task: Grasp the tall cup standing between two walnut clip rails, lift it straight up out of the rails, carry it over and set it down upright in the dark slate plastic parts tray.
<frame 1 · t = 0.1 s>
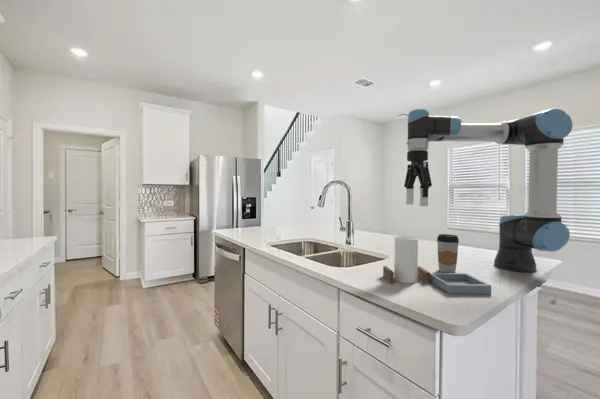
hand: (416, 205, 116), 28 cm above the worktop, fingers open, 13 cm apart
cup: (405, 280, 112), on the worktop
coffee cup: (447, 271, 125), on the worktop
tray: (457, 287, 104), on the worktop
clip rails: (405, 279, 112), on the worktop
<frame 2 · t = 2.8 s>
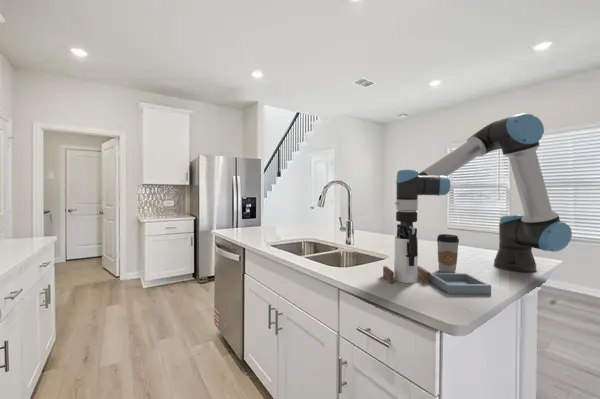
hand: (405, 271, 112), 3 cm above the worktop, fingers closed on cup, 8 cm apart
cup: (405, 280, 112), on the worktop, touching gripper
everything else where it was.
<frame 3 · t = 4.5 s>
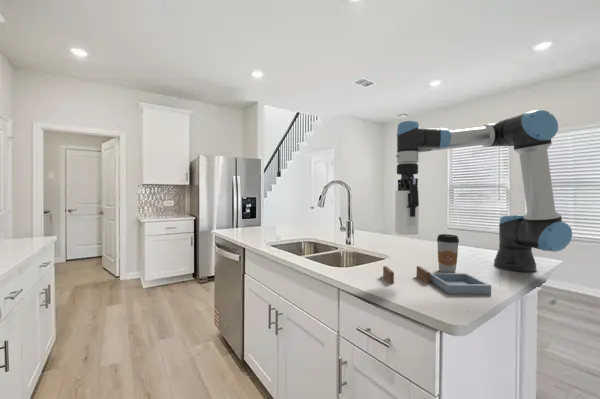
hand: (406, 224, 112), 21 cm above the worktop, fingers closed on cup, 8 cm apart
cup: (406, 233, 112), point 17 cm above the worktop, touching gripper
everything else where it was.
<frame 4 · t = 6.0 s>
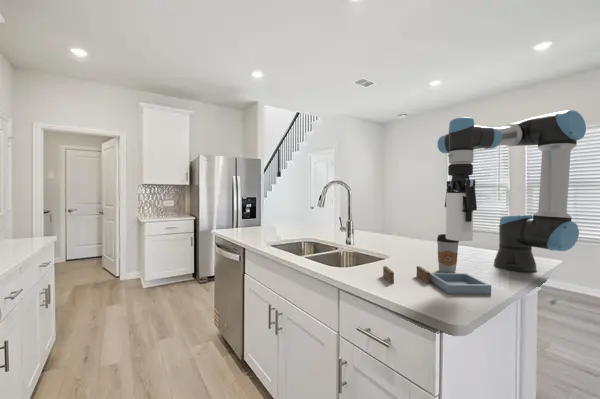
hand: (459, 229, 103), 20 cm above the worktop, fingers closed on cup, 8 cm apart
cup: (458, 239, 103), point 17 cm above the worktop, touching gripper
everything else where it was.
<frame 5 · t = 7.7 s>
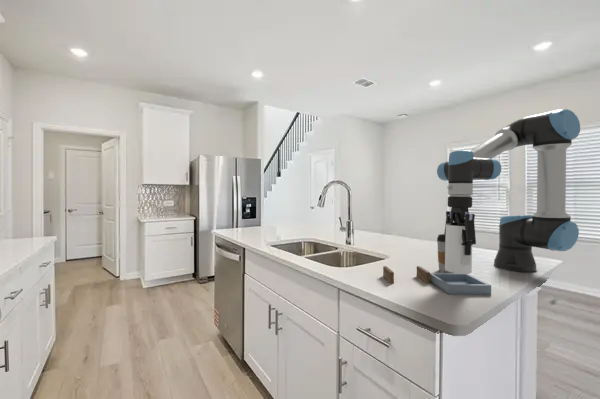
hand: (458, 261, 103), 9 cm above the worktop, fingers closed on cup, 8 cm apart
cup: (457, 271, 103), point 6 cm above the worktop, touching gripper
everything else where it was.
when the fingers open (5 cm above the worktop, at t = 9.1 s): cup stays where it is, resting on tray.
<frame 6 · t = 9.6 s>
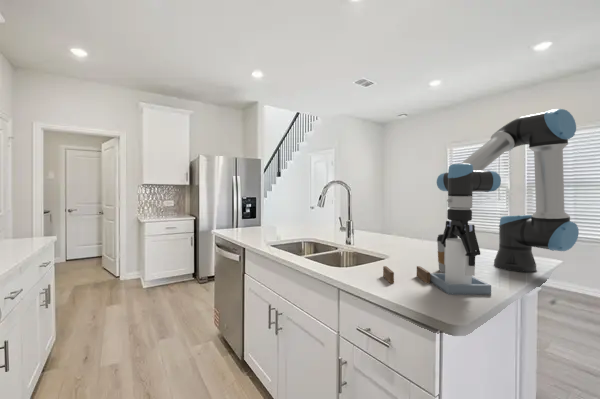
hand: (458, 269, 103), 6 cm above the worktop, fingers open, 13 cm apart
cup: (458, 286, 104), resting on tray
everything else where it was.
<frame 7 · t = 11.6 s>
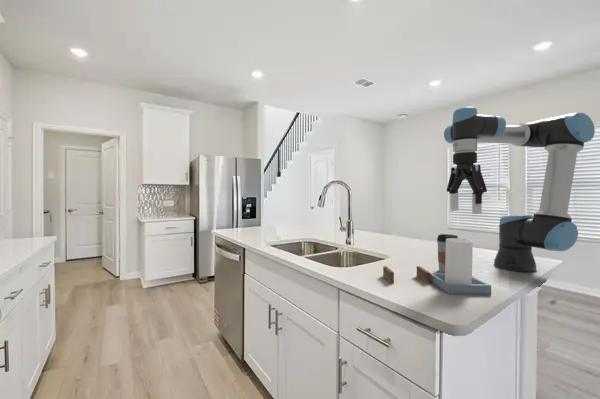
hand: (464, 212, 107), 26 cm above the worktop, fingers open, 13 cm apart
nothing on the worktop moved.
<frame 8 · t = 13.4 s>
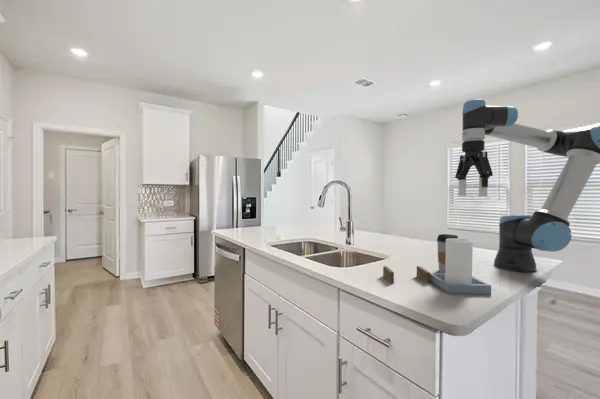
hand: (471, 196, 116), 32 cm above the worktop, fingers open, 13 cm apart
nothing on the worktop moved.
at the end: cup inside the target area on the tray (0.0 cm from its centre), point 0.4 cm above the tray's base; cup tilted 0°; the gripper is holding nothing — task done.
